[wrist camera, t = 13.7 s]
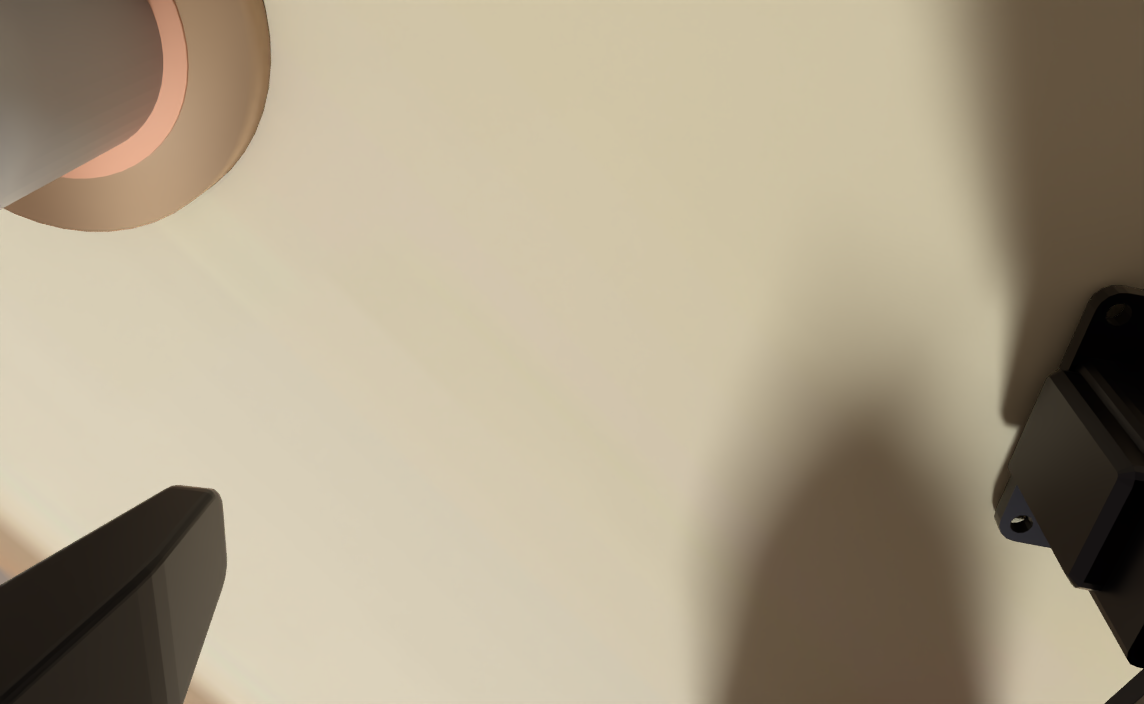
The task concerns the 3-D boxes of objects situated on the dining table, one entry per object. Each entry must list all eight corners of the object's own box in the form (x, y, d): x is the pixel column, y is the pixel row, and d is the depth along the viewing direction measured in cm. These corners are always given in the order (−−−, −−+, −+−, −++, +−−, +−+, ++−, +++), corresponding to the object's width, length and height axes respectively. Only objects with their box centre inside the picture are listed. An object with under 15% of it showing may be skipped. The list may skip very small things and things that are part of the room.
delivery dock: (276, -151, 19) (249, -151, 18) (266, 242, 22) (244, 264, 21) (-143, -229, 19) (-196, -233, 18) (-84, 177, 22) (-124, 195, 21)
